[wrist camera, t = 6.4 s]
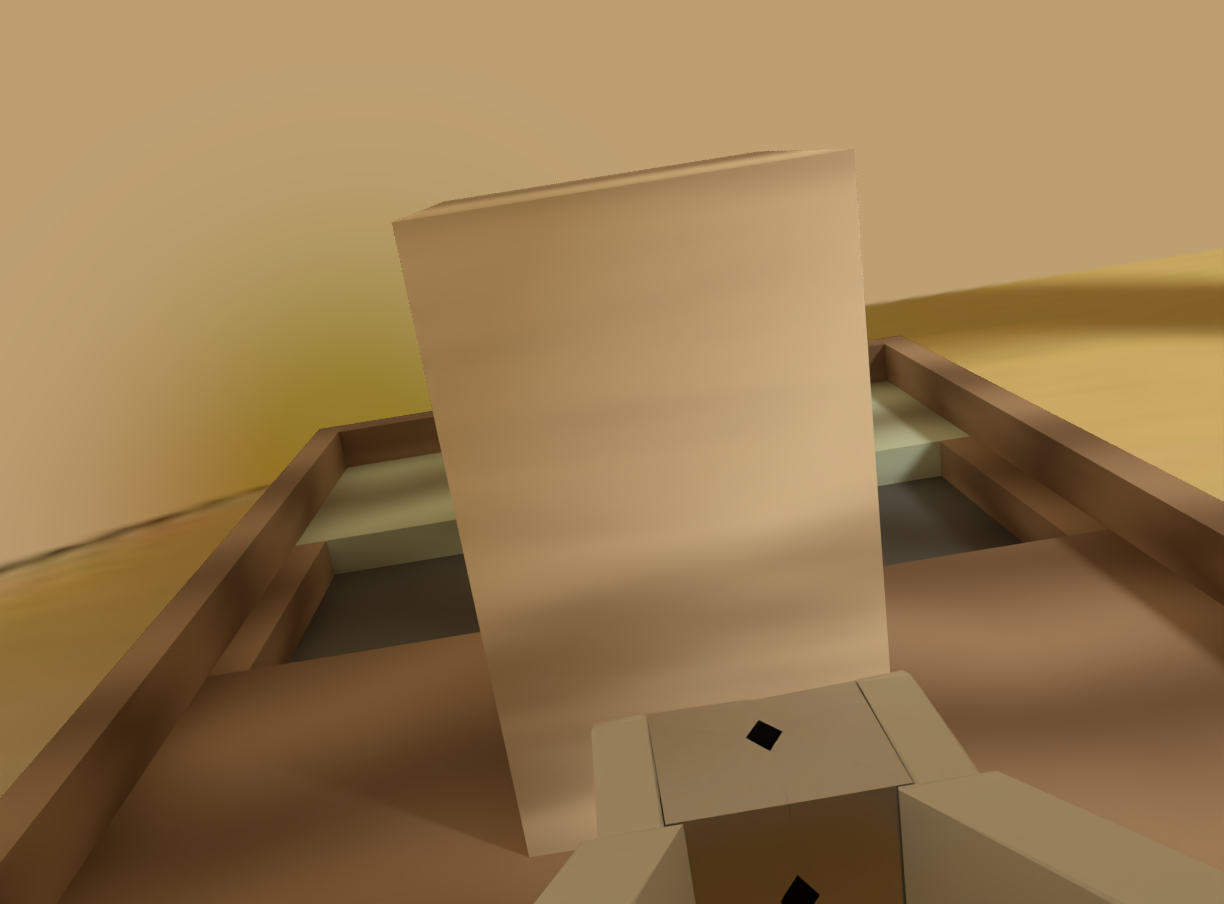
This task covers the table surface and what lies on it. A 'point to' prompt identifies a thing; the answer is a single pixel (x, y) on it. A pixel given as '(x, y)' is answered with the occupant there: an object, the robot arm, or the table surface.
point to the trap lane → (464, 699)
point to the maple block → (653, 447)
